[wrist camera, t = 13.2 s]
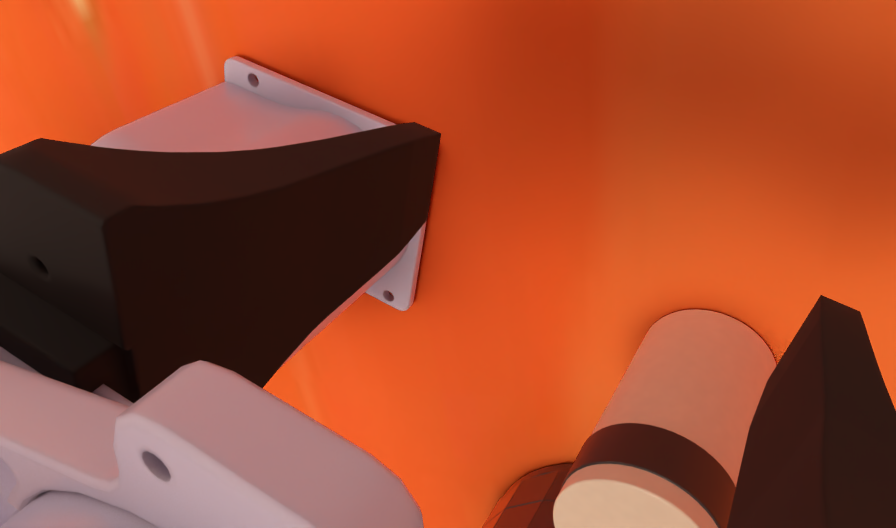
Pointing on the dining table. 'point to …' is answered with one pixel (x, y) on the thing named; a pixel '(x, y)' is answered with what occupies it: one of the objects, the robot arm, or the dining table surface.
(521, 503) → the pan
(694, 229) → the dining table surface
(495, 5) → the dining table surface
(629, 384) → the beige cylinder
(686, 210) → the dining table surface
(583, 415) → the dining table surface
